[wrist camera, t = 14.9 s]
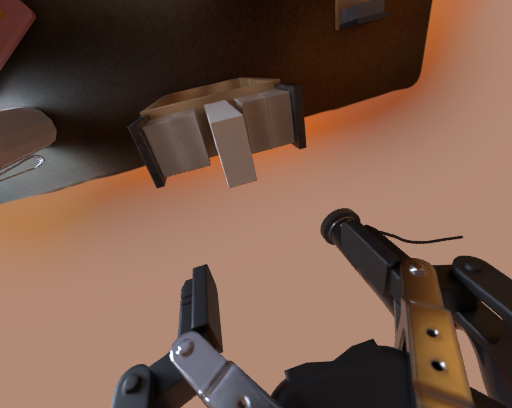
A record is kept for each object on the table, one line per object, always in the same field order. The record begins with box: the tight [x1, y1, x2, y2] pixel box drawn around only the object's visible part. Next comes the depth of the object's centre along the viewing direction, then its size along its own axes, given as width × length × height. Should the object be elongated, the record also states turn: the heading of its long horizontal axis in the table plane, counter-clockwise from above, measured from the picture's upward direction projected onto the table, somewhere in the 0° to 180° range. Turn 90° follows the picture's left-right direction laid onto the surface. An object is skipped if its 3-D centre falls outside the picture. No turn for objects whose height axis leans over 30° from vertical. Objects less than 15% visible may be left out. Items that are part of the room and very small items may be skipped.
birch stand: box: [143, 77, 274, 111], centre depth 37 cm, size 16×7×22 cm, turn 101°
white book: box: [204, 100, 257, 188], centre depth 22 cm, size 2×5×11 cm, turn 11°
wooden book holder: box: [128, 79, 306, 188], centre depth 25 cm, size 16×7×7 cm, turn 101°
